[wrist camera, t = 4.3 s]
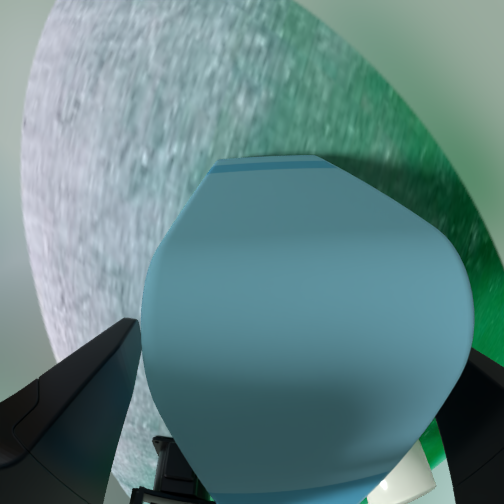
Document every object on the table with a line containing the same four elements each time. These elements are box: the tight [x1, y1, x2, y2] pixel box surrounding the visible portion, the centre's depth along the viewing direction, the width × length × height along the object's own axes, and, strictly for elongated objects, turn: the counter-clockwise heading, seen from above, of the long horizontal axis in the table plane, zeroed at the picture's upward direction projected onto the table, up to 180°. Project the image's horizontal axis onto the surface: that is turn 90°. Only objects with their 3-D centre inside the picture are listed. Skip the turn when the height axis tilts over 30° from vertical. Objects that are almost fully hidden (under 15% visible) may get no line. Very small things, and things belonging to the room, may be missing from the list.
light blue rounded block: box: [141, 155, 474, 504], centre depth 10 cm, size 12×4×12 cm, turn 3°
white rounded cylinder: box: [367, 439, 436, 504], centre depth 19 cm, size 6×6×10 cm
